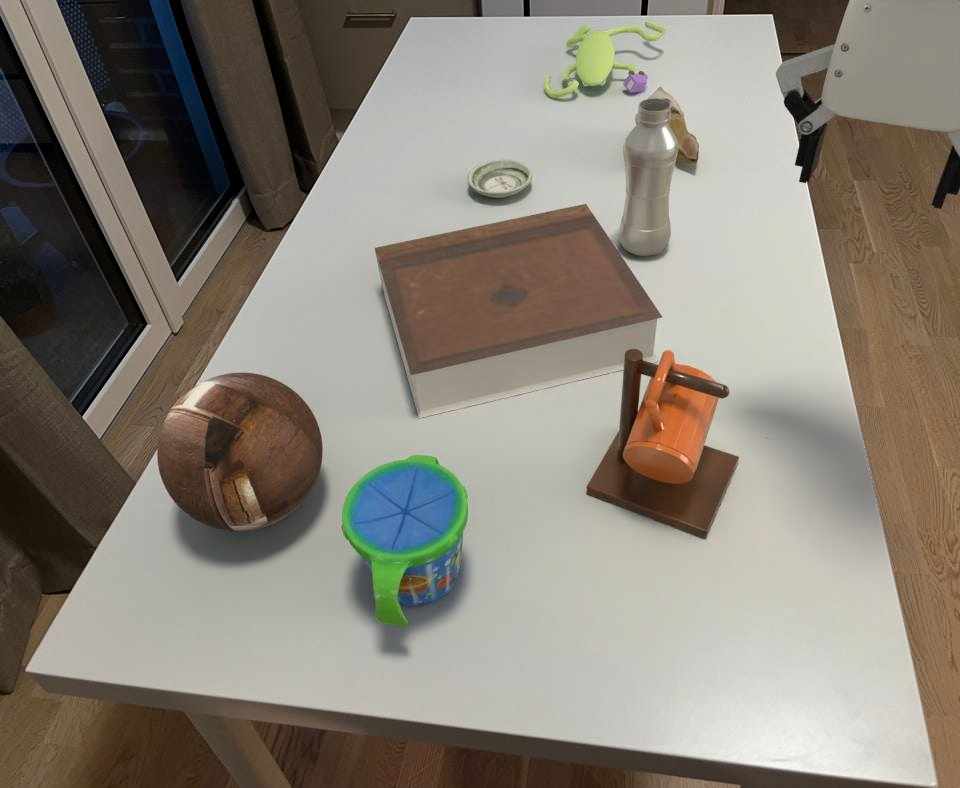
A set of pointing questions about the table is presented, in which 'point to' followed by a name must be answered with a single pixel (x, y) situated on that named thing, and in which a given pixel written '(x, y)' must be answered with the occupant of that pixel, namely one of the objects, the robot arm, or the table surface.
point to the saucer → (499, 177)
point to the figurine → (602, 59)
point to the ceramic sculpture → (679, 129)
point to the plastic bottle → (648, 179)
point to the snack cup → (407, 532)
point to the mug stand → (655, 499)
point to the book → (512, 308)
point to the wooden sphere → (239, 451)
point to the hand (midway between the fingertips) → (871, 186)
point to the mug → (670, 426)
